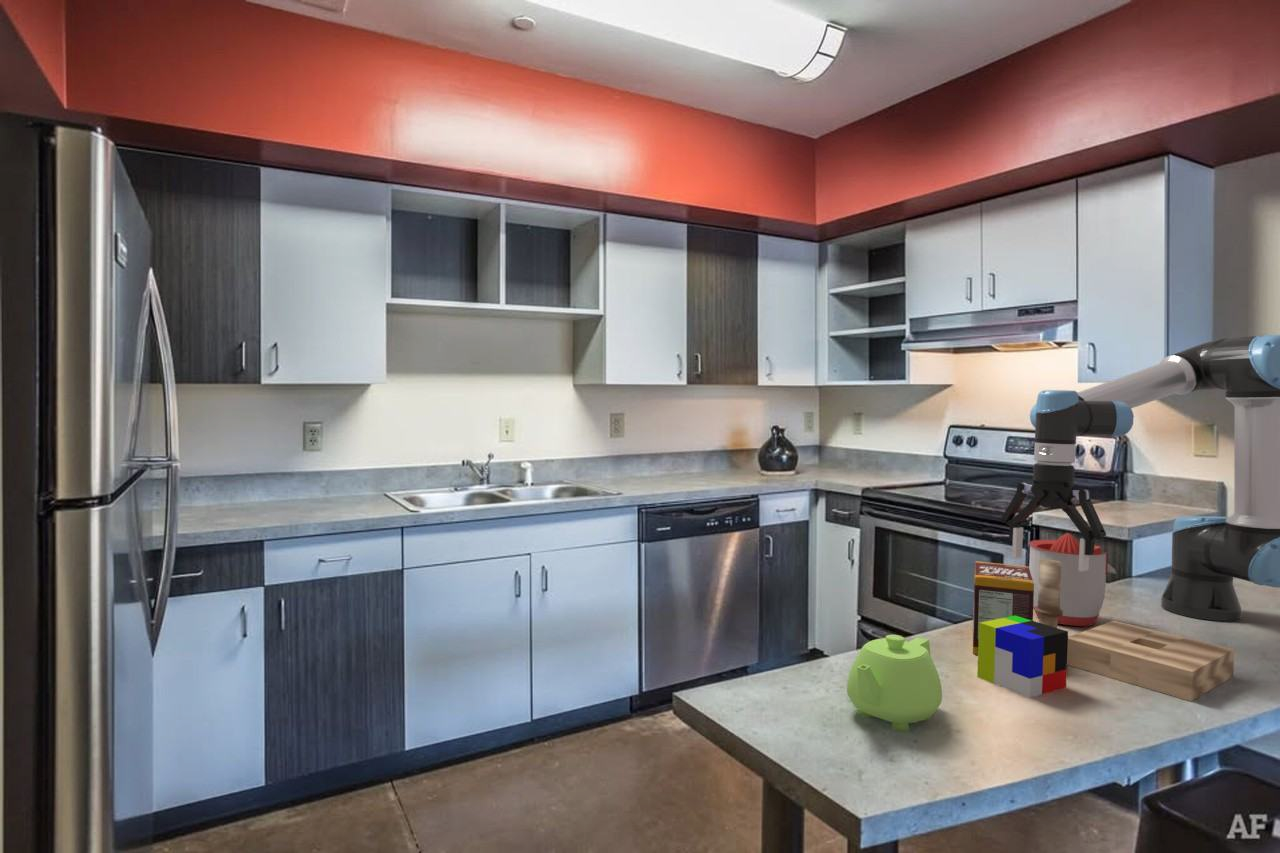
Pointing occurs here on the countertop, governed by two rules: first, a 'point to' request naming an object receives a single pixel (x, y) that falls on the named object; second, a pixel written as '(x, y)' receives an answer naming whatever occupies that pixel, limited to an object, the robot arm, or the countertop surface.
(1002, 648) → the puzzle toy
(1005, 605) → the supplement box
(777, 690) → the countertop surface
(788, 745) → the countertop surface
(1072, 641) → the seat board
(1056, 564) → the leg peg
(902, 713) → the teapot
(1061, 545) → the citrus juicer
